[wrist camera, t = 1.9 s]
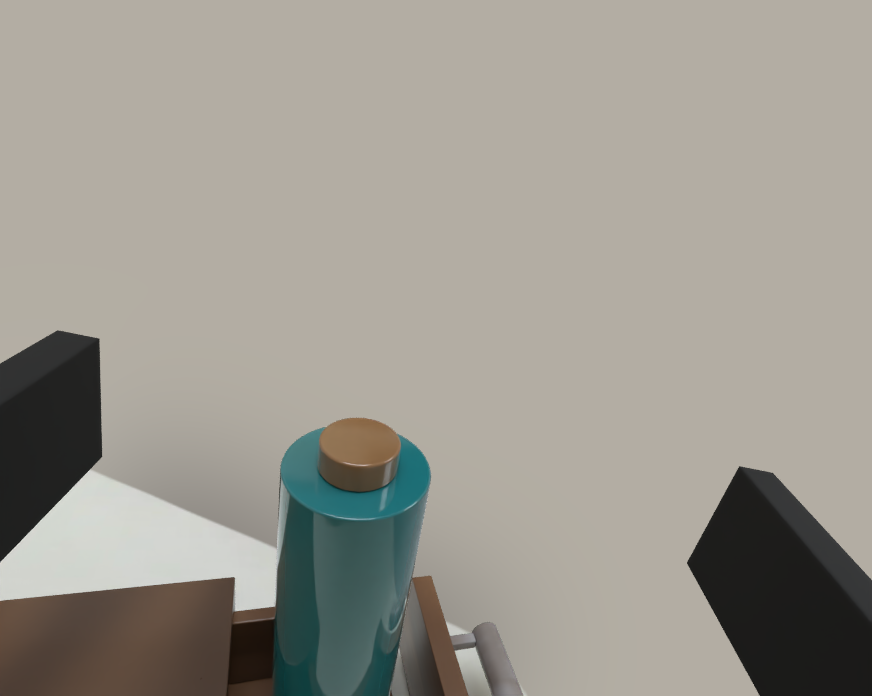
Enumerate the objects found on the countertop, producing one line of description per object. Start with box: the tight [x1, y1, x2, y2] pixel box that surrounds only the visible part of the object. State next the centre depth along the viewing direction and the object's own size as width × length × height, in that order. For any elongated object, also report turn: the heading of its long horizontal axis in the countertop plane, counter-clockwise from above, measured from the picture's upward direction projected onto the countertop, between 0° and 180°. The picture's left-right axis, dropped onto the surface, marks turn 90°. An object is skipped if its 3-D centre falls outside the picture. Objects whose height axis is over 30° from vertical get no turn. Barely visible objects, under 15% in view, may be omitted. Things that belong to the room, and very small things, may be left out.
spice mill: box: [271, 418, 431, 696], centre depth 24 cm, size 6×6×20 cm
